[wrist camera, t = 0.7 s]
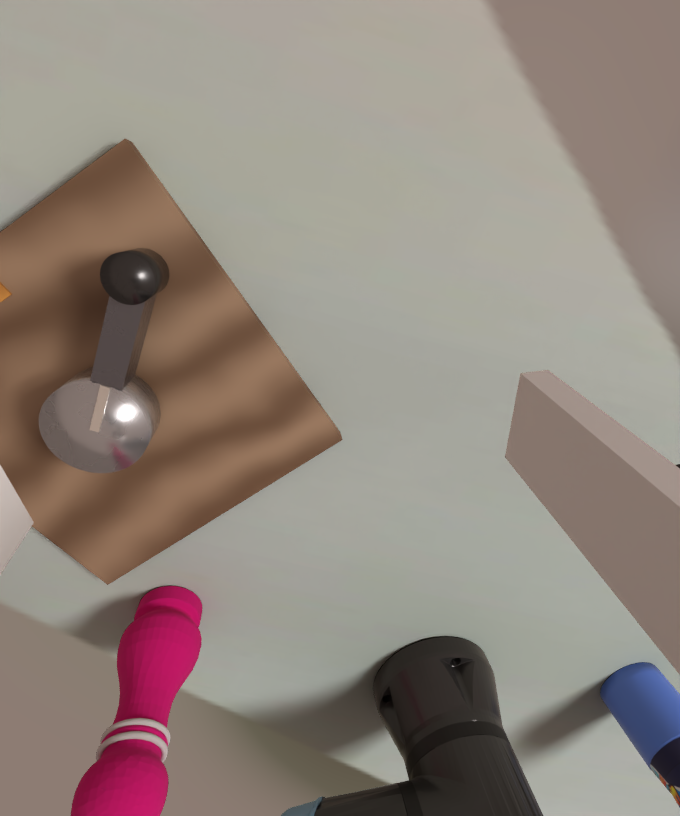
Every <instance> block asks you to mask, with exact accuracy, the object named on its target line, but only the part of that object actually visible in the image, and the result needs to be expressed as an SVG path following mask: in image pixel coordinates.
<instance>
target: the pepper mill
mask: <svg viewBox="0 0 680 816" xmlns="http://www.w3.org/2000/svg"><path fill="white" fill-rule="evenodd" d="M201 614H202V603H201V601H200V599H199V598H198V596H197V595H195V594H194V593H193V592H192V591H190V590H188V589H186V588H183V587H178V586H164V587H159V588H156V589H154V590H152V591H150V592H148V593H147V594H146V595H145V596H144V597H143V598H142V599H141V601H140V603H139V605H138V608H137V611H136V614H135V617H134V621H133V622H132V623H131V624H130V625H129V626H128V627H127V628H126V630H125V632H124V633H123V635H122V637H121V640H120V644H119V648H118V654H117V670H118V676H119V683H120V700H119V707H118V711H117V715H116V718H115V720H114V723H113V725H112V726H110V727H109V728H108V729H107V730H106V731H105V732H104V733H103V735H102V737H101V745H100V746H99V748H98V750H97V752H96V759H97V762H96V763H95V764H93V765H92V766H91V767H90V768H89V769H88V771H87V772H86V773H85V774H84V776H83V777H82V779H81V781H80V783H79V785H78V787H77V789H76V792H75V795H74V799H73V803H72V810H71V816H160V814H161V812H162V809H163V806H164V803H165V800H166V796H167V791H168V774H167V771H166V768H165V766H164V764H163V762H164V761H165V759H166V758H167V754H168V746H169V744H170V739H171V736H170V732H169V731H168V729H167V722H168V716H169V713H170V709H171V705H172V702H173V700H174V698H175V695H176V693H177V692H178V690H179V689H180V687H181V686H182V684H183V683H184V682H185V680H186V679H187V677H188V676H189V674H190V673H191V671H192V670H193V668H194V666H195V663H196V661H197V659H198V655H199V652H200V648H201V634H200V631H199V629H198V627H199V625H200V620H201Z"/></svg>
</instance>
